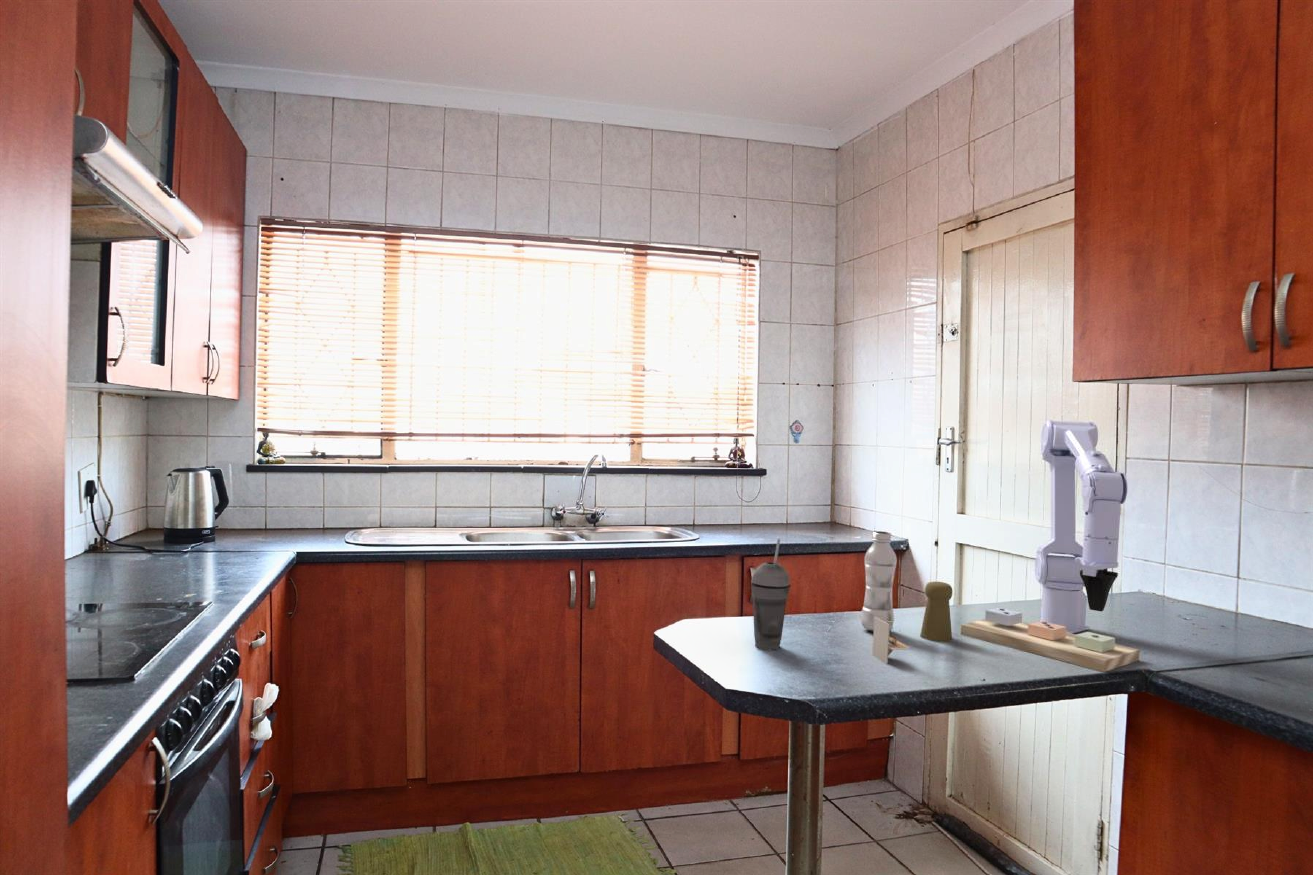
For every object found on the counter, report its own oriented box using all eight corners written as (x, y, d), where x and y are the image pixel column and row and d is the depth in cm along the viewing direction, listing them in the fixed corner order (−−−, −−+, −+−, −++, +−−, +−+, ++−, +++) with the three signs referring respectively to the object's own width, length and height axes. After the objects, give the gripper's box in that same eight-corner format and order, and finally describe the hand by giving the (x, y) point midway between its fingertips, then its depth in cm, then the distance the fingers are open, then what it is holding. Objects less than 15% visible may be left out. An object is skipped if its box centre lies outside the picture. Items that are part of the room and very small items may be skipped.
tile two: (998, 617, 172) (999, 606, 172) (1021, 622, 168) (1022, 612, 168) (985, 619, 169) (985, 609, 169) (1008, 625, 165) (1009, 614, 165)
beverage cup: (755, 638, 158) (760, 533, 157) (792, 645, 154) (797, 538, 154) (741, 647, 151) (747, 538, 150) (780, 654, 148) (785, 542, 147)
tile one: (1087, 642, 158) (1087, 630, 158) (1114, 648, 154) (1115, 637, 154) (1074, 645, 155) (1074, 634, 154) (1102, 652, 151) (1102, 640, 151)
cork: (954, 642, 161) (957, 586, 161) (921, 639, 162) (924, 584, 162) (949, 635, 167) (952, 580, 167) (918, 632, 168) (921, 578, 168)
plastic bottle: (857, 632, 166) (863, 532, 165) (862, 625, 172) (867, 529, 171) (891, 637, 163) (896, 536, 162) (895, 629, 169) (900, 532, 169)
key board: (998, 625, 177) (998, 616, 177) (1138, 660, 154) (1139, 649, 154) (960, 634, 168) (961, 624, 168) (1104, 671, 146) (1104, 660, 146)
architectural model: (889, 656, 151) (891, 616, 151) (907, 668, 144) (910, 626, 144) (871, 657, 151) (873, 616, 150) (889, 669, 144) (891, 626, 144)
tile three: (1040, 630, 165) (1041, 620, 165) (1065, 637, 161) (1066, 625, 161) (1027, 634, 162) (1028, 623, 162) (1052, 640, 158) (1053, 629, 158)
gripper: (1087, 531, 162) (1083, 600, 162) (1066, 537, 151) (1062, 611, 151) (1128, 535, 157) (1124, 607, 157) (1109, 542, 146) (1105, 619, 146)
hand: (1096, 609), depth 154 cm, fingers closed
